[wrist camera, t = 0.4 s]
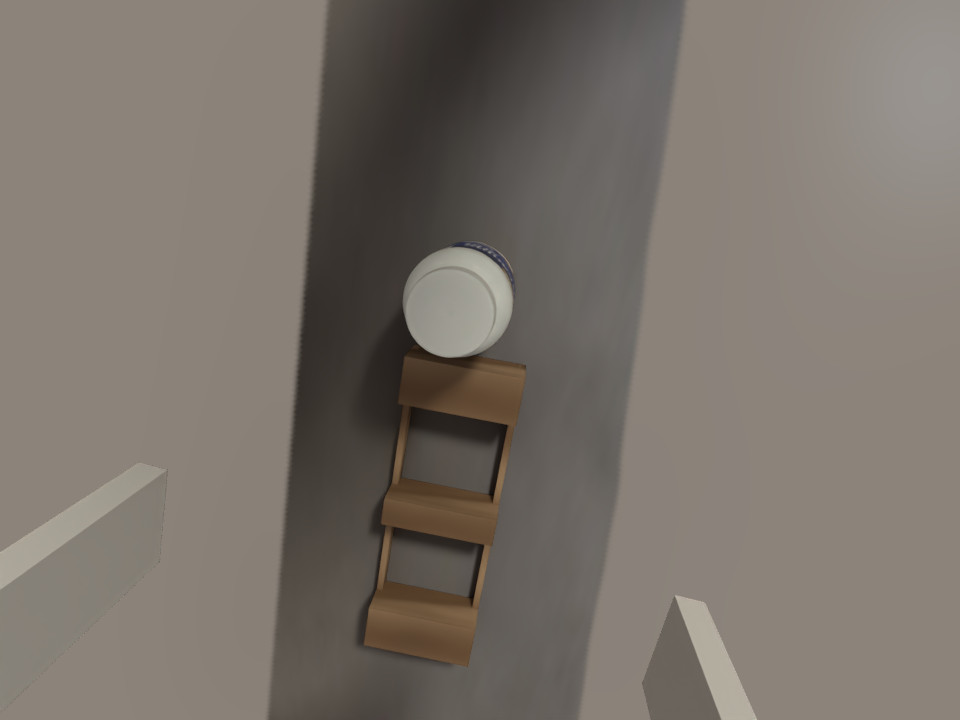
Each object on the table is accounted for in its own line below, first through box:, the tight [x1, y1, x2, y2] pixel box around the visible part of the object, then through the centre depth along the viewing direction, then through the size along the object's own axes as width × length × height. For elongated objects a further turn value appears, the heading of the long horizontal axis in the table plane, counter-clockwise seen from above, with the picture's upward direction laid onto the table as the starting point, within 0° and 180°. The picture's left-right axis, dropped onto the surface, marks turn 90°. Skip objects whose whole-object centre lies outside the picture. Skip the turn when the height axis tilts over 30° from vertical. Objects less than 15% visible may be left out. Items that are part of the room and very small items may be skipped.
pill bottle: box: [403, 241, 516, 358], centre depth 30 cm, size 5×5×10 cm
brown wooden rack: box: [364, 345, 526, 667], centre depth 37 cm, size 20×7×3 cm, turn 170°
